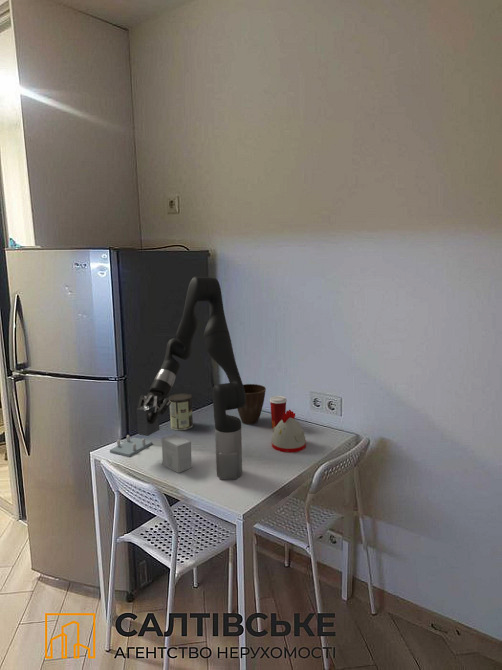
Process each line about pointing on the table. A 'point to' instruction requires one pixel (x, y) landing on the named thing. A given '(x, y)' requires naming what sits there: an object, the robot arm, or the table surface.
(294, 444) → the cream and red dome
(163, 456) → the skincare box
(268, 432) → the table surface
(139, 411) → the block
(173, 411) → the coffee can
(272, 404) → the paper cup
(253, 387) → the plant pot
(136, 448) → the grey peg board
